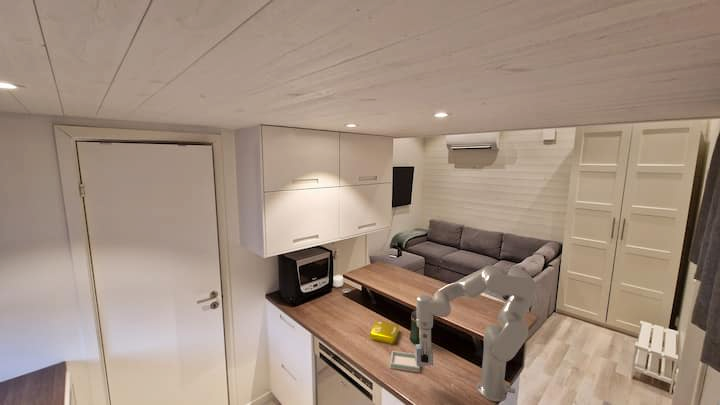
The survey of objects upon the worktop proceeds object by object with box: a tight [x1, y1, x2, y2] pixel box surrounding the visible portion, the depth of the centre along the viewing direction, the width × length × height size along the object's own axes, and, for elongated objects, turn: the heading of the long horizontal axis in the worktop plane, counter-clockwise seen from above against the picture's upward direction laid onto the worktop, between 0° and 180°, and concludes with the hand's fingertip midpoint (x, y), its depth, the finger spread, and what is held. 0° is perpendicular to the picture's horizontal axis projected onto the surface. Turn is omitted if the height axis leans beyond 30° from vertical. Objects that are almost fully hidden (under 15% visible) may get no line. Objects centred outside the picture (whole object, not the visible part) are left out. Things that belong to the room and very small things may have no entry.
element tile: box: [370, 320, 400, 345], centre depth 177 cm, size 15×15×5 cm
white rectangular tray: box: [389, 350, 421, 373], centre depth 153 cm, size 15×11×2 cm
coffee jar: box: [409, 309, 420, 345], centre depth 171 cm, size 10×8×19 cm
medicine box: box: [414, 344, 434, 367], centre depth 138 cm, size 8×4×9 cm, turn 92°
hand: (424, 357), depth 139 cm, fingers closed on medicine box, 5 cm apart
